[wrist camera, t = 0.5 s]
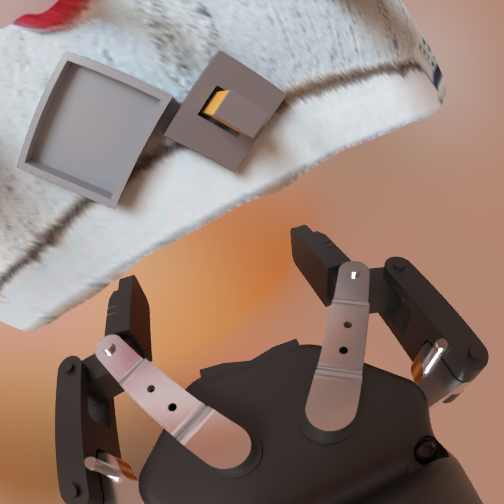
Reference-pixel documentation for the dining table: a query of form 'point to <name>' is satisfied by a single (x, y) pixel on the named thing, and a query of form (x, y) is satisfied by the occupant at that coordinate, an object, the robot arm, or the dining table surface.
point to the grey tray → (91, 128)
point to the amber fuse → (235, 112)
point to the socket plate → (208, 134)
